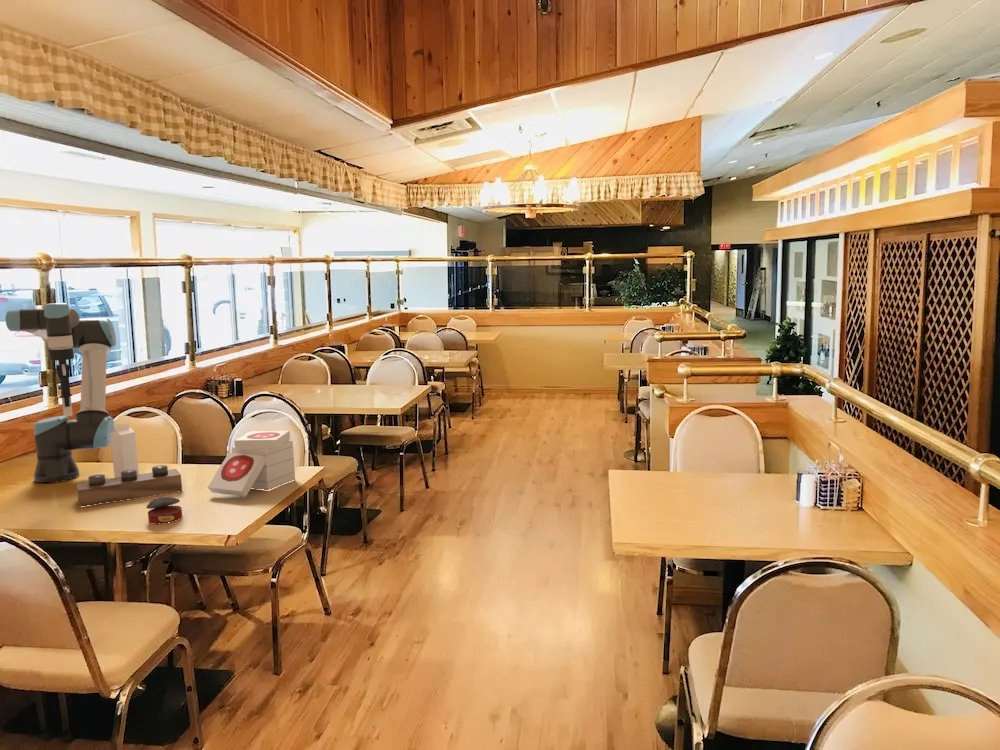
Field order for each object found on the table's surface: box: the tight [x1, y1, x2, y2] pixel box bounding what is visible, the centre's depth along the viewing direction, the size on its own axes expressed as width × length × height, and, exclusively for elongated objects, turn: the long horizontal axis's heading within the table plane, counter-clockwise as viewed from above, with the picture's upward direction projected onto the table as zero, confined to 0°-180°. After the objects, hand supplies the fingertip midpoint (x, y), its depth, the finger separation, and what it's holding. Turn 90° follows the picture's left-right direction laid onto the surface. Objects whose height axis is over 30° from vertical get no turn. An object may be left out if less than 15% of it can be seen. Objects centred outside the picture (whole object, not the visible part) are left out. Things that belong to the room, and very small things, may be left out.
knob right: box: [151, 464, 169, 476], centre depth 279 cm, size 5×5×7 cm
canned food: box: [145, 496, 183, 525], centre depth 248 cm, size 11×10×10 cm
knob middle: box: [121, 470, 137, 481], centre depth 274 cm, size 5×5×7 cm
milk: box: [110, 422, 140, 478], centre depth 291 cm, size 6×6×22 cm
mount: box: [76, 468, 183, 508], centre depth 274 cm, size 10×32×6 cm, turn 121°
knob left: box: [88, 474, 106, 486], centre depth 269 cm, size 5×5×7 cm
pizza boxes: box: [207, 430, 296, 497], centre depth 279 cm, size 19×30×18 cm, turn 156°
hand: (68, 415), depth 275 cm, fingers closed
